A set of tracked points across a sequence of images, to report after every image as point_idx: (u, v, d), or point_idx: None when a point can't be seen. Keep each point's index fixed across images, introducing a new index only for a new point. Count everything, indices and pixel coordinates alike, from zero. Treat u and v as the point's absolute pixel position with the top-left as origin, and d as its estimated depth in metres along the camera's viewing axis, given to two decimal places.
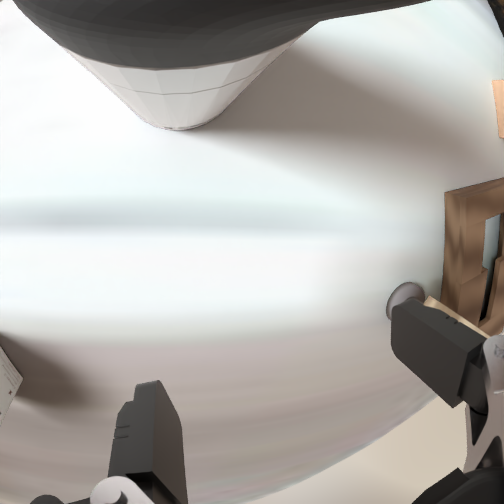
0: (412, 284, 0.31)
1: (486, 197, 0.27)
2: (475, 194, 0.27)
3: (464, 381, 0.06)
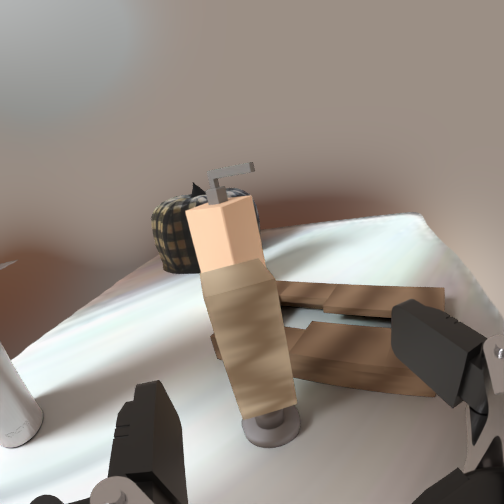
0: None
1: None
2: None
3: (464, 381, 0.06)
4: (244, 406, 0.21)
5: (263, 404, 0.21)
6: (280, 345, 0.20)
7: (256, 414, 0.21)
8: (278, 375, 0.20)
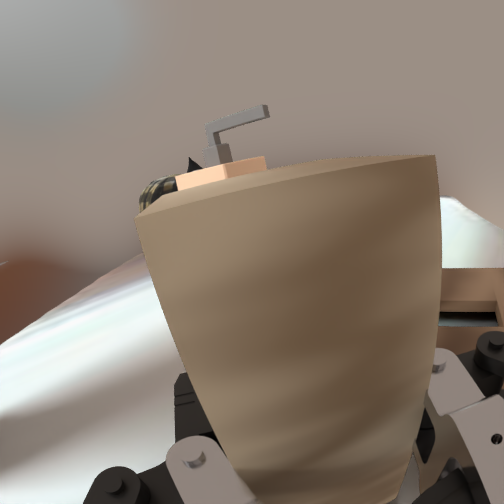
0: None
1: None
2: None
3: None
4: None
5: None
6: (411, 399, 0.05)
7: None
8: (382, 467, 0.06)
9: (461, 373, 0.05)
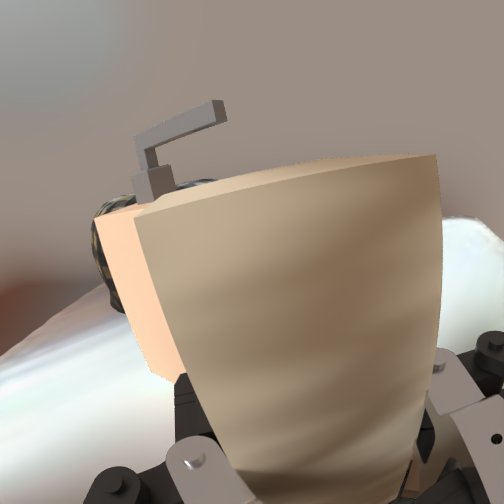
0: None
1: None
2: None
3: None
4: None
5: None
6: (412, 400, 0.05)
7: None
8: (383, 467, 0.06)
9: (461, 373, 0.05)
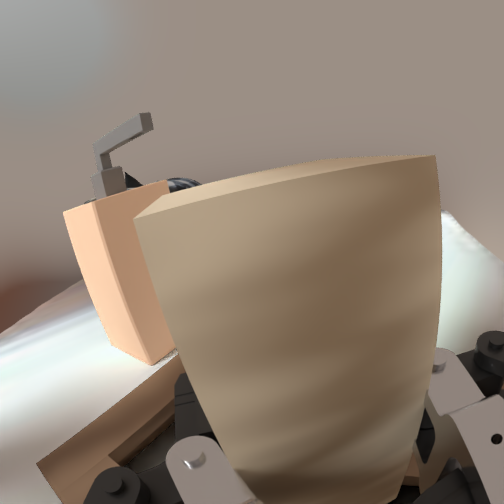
0: None
1: (87, 433, 0.14)
2: None
3: None
4: None
5: None
6: (411, 400, 0.05)
7: None
8: (383, 467, 0.06)
9: (461, 373, 0.05)
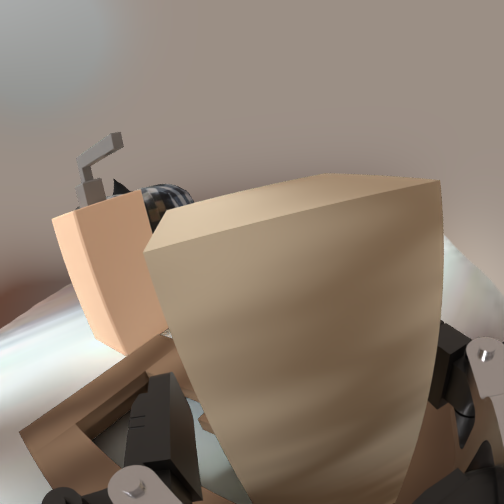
0: None
1: (62, 407, 0.17)
2: None
3: (448, 383, 0.06)
4: None
5: None
6: (410, 412, 0.05)
7: None
8: (382, 474, 0.06)
9: None
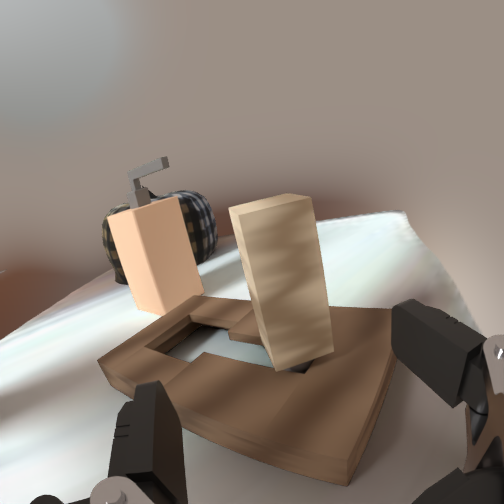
0: None
1: (130, 340, 0.31)
2: None
3: (464, 381, 0.06)
4: (278, 353, 0.20)
5: (298, 351, 0.20)
6: (317, 275, 0.19)
7: (290, 364, 0.20)
8: (315, 313, 0.19)
9: None
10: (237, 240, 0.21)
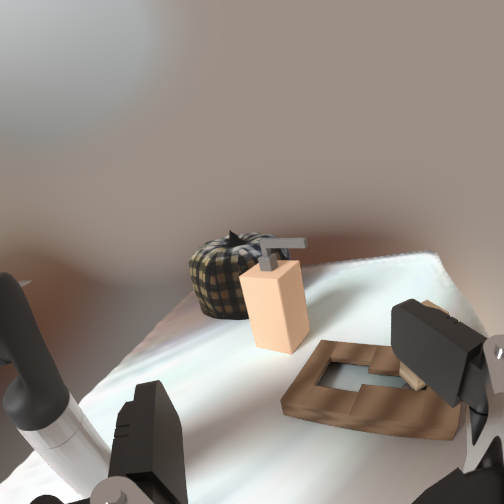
0: None
1: (297, 381, 0.44)
2: (287, 391, 0.43)
3: (464, 381, 0.06)
4: (419, 382, 0.33)
5: None
6: None
7: (422, 386, 0.34)
8: None
9: None
10: None
